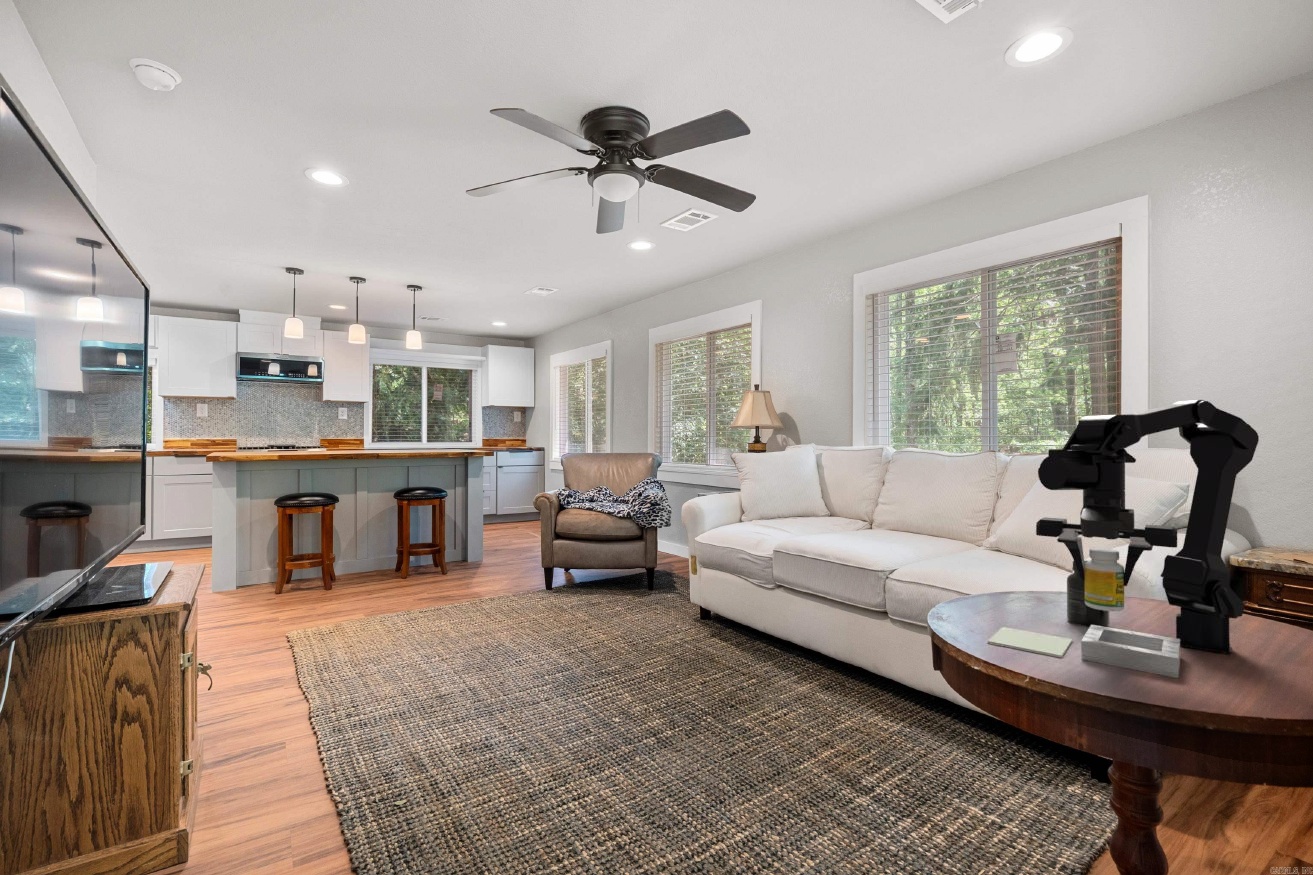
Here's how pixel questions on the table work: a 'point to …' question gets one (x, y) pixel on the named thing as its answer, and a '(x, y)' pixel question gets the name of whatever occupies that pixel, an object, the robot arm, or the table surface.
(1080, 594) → the supplement bottle
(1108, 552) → the supplement bottle
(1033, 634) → the sage pad
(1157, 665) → the grey square frame
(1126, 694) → the table surface
